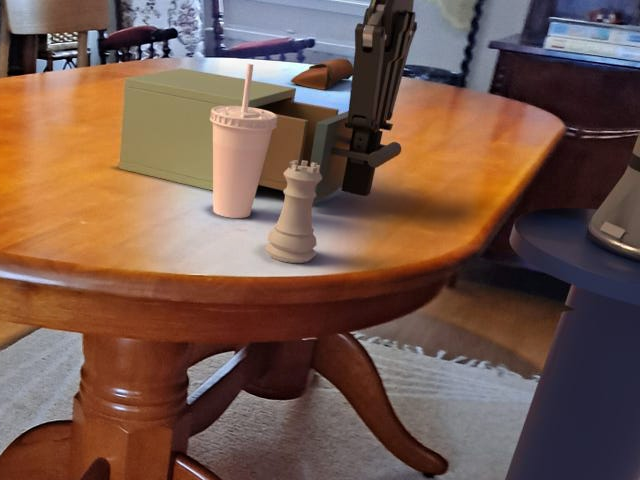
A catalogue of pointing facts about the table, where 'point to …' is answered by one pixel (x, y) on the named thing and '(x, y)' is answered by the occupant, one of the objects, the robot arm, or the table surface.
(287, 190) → the rook chess piece
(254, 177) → the smoothie
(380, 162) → the drawer
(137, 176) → the table surface
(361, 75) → the robot arm
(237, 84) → the cabinet
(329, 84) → the sunglasses case
